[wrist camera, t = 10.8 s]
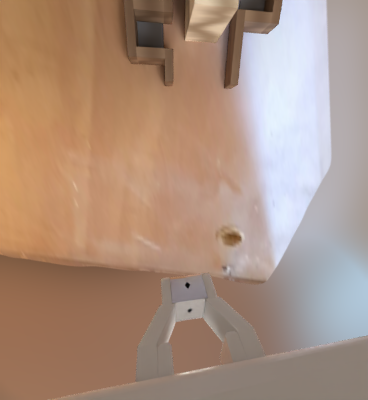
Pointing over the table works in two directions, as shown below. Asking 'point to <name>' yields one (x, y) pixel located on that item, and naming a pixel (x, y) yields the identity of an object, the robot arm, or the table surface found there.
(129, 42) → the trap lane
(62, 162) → the table surface
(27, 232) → the table surface
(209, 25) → the beech block
